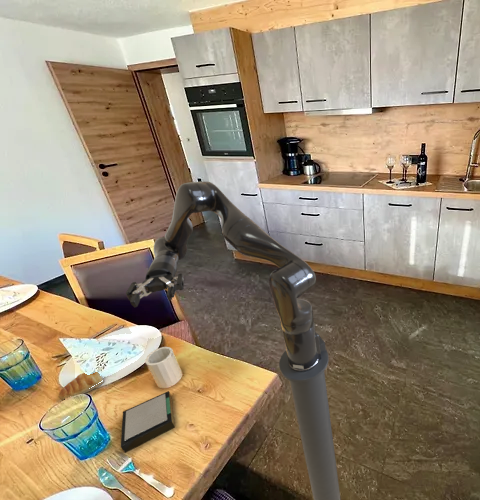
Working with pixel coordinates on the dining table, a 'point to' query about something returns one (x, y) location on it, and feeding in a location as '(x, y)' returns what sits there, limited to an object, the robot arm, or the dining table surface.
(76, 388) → the pastry
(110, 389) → the dining table surface
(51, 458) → the dining table surface
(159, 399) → the scale
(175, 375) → the cup
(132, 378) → the dining table surface
